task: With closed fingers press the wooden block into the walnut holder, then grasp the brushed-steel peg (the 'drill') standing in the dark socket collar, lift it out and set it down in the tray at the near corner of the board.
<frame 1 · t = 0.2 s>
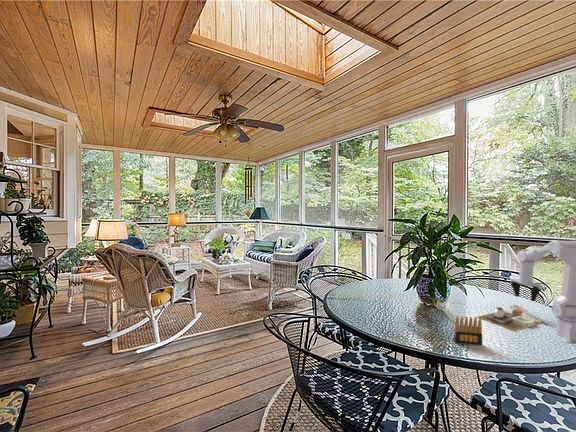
hand: (525, 298, 157), 9 cm above the table, fingers open, 7 cm apart
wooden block: (512, 314, 151), point 3 cm above the table, slide at 0.0 cm
adjustable wrench: (525, 315, 158), on the table
caliper: (445, 316, 156), on the table
peg: (499, 321, 147), point 1 cm above the table, touching holder
ammunition clip: (467, 343, 126), on the table
holder: (500, 322, 147), on the table
tray: (522, 325, 144), resting on holder
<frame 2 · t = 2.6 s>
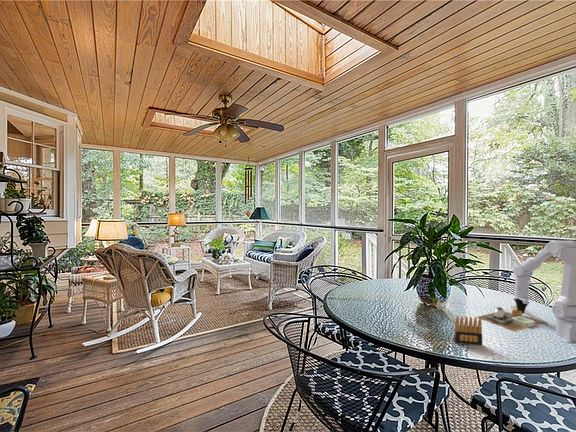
hand: (520, 313, 154), 2 cm above the table, fingers closed
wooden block: (512, 314, 151), point 3 cm above the table, slide at 0.1 cm, touching gripper
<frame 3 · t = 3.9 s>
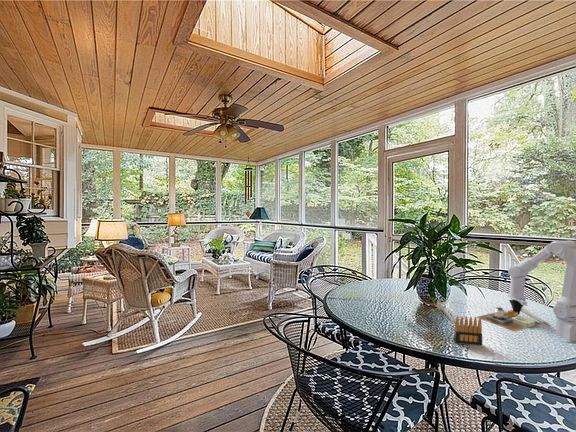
hand: (516, 314, 152), 2 cm above the table, fingers closed, pressing on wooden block
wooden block: (508, 315, 150), point 3 cm above the table, slide at 3.8 cm, touching gripper
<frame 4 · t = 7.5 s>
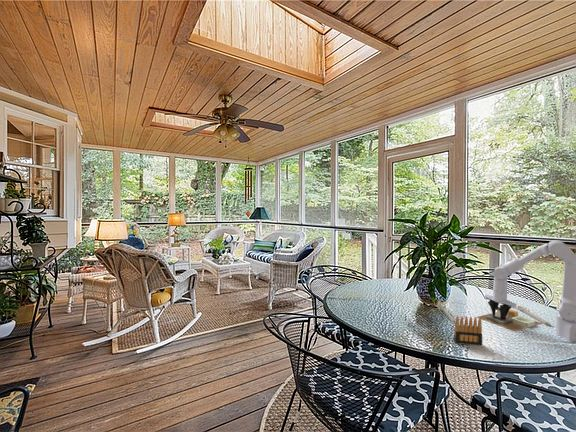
hand: (499, 317, 147), 3 cm above the table, fingers closed on peg, 4 cm apart
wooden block: (508, 315, 150), point 3 cm above the table, slide at 3.5 cm
peg: (499, 321, 147), point 1 cm above the table, touching gripper, holder
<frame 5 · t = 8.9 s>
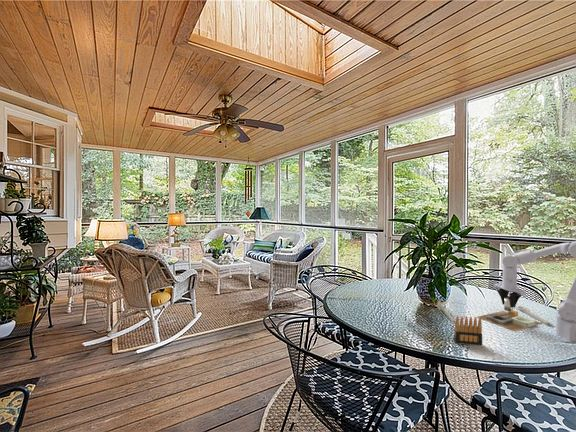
hand: (508, 305, 145), 9 cm above the table, fingers closed on peg, 4 cm apart
peg: (508, 309, 145), point 7 cm above the table, touching gripper
when the fingers open (4 cm above the table, at t = 10.6 s): peg stays where it is, resting on tray.
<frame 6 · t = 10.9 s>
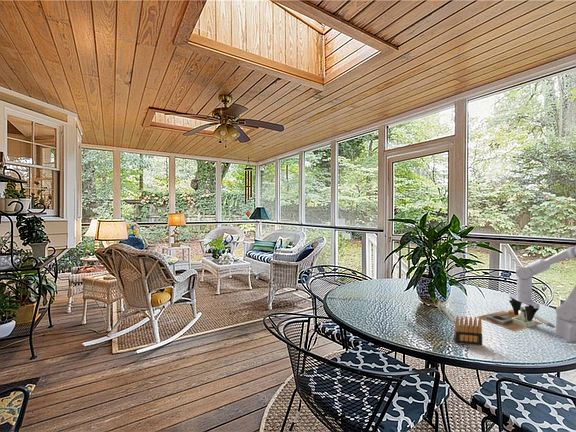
hand: (523, 317, 144), 4 cm above the table, fingers open, 6 cm apart
peg: (522, 322, 144), point 1 cm above the table, touching tray
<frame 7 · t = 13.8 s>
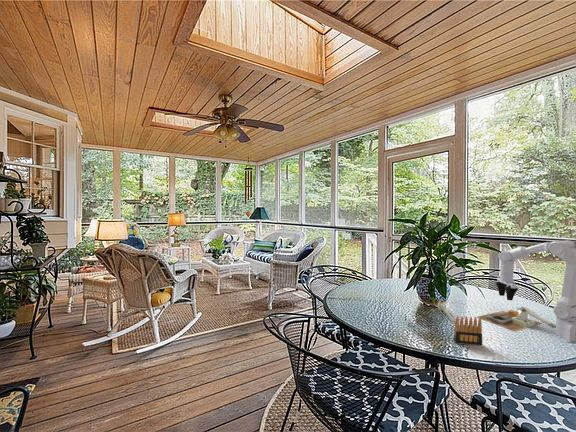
hand: (505, 297, 156), 10 cm above the table, fingers open, 7 cm apart
at the end: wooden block slide at 3.5 cm; peg 0.1 cm off-centre on the tray, point 1.4 cm above the tray's base; peg tilted 0° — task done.
